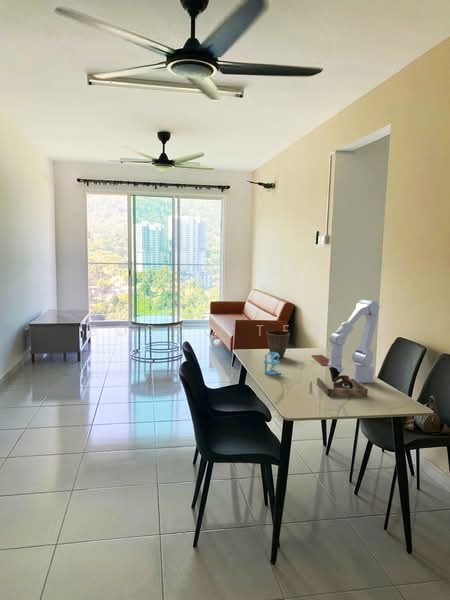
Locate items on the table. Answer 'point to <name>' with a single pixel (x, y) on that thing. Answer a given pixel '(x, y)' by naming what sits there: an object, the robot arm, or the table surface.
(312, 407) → the table surface
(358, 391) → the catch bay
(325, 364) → the wooden tablet
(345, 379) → the pottery mug
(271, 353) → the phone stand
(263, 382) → the table surface
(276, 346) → the plant pot
